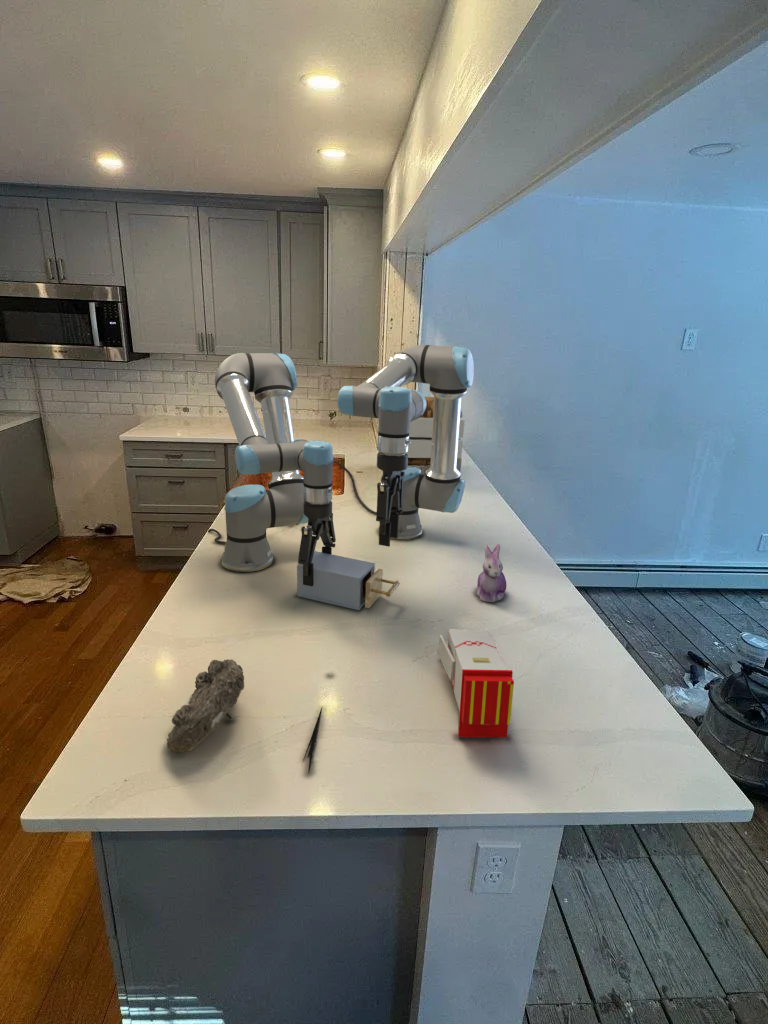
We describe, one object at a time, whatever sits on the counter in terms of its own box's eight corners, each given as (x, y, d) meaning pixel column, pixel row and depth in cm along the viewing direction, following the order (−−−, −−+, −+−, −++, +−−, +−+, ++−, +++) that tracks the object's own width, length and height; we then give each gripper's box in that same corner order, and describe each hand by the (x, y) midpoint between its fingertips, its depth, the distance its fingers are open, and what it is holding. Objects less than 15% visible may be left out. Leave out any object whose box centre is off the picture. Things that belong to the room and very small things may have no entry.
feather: (331, 679, 122) (336, 673, 122) (307, 777, 96) (313, 769, 95) (324, 675, 122) (329, 669, 121) (298, 772, 95) (304, 764, 95)
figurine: (488, 606, 153) (494, 555, 148) (466, 590, 161) (471, 541, 156) (515, 600, 157) (522, 550, 152) (493, 584, 166) (498, 536, 160)
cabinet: (373, 593, 158) (374, 563, 154) (359, 610, 148) (360, 578, 145) (314, 580, 163) (314, 550, 160) (297, 596, 154) (296, 565, 151)
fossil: (192, 660, 117) (244, 628, 112) (224, 691, 120) (276, 661, 115) (142, 746, 98) (202, 712, 93) (182, 779, 101) (242, 748, 96)
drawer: (400, 597, 154) (401, 572, 152) (388, 612, 146) (389, 587, 144) (325, 580, 161) (326, 557, 159) (310, 594, 153) (310, 570, 151)
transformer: (382, 463, 289) (386, 382, 275) (445, 464, 293) (451, 384, 279) (390, 482, 257) (394, 392, 243) (460, 483, 261) (468, 394, 247)
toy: (488, 613, 130) (523, 677, 101) (484, 667, 133) (517, 744, 104) (435, 612, 130) (455, 676, 101) (432, 666, 133) (451, 743, 103)
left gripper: (310, 516, 137) (310, 597, 145) (348, 490, 158) (347, 563, 165) (283, 511, 140) (284, 591, 147) (324, 487, 160) (324, 558, 168)
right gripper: (394, 463, 128) (389, 557, 136) (418, 446, 144) (413, 531, 152) (363, 458, 130) (360, 551, 138) (391, 443, 146) (387, 526, 154)
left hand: (317, 576), depth 156 cm, fingers closed on cabinet, 10 cm apart
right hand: (388, 540), depth 145 cm, fingers open, 5 cm apart
